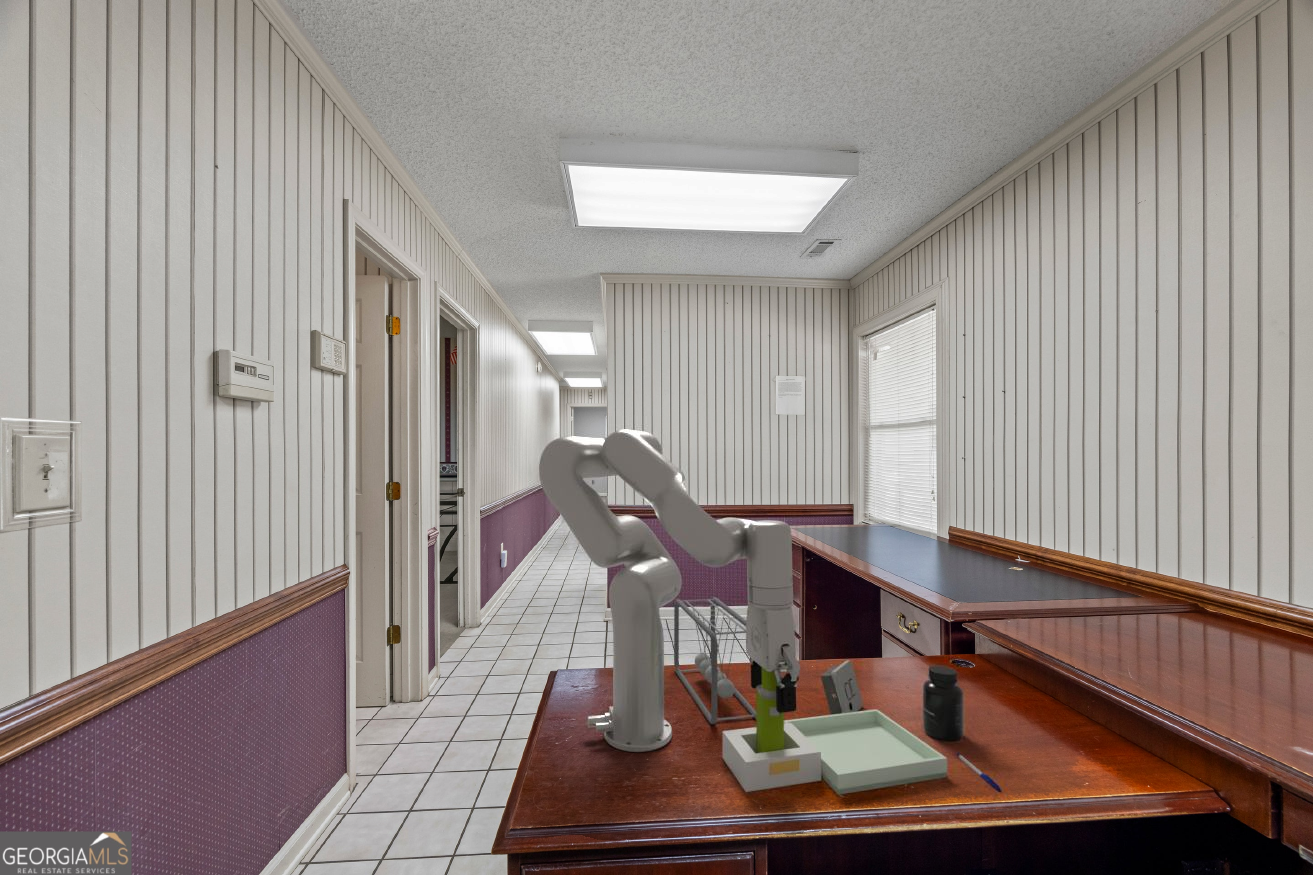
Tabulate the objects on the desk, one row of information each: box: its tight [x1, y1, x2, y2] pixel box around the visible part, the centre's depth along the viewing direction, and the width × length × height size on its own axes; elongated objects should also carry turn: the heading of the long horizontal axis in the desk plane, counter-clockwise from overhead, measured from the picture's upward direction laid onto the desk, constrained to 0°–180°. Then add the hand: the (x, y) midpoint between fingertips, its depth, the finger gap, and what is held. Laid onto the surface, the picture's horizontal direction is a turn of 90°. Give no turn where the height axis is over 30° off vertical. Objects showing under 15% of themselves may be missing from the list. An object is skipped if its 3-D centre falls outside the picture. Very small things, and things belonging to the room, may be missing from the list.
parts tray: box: [784, 709, 948, 796], centre depth 95 cm, size 20×18×3 cm
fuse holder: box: [722, 723, 822, 793], centre depth 91 cm, size 13×10×4 cm
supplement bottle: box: [922, 664, 965, 743], centre depth 103 cm, size 7×7×12 cm
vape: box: [755, 664, 785, 753], centre depth 91 cm, size 4×6×20 cm, turn 4°
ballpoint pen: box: [956, 753, 1002, 792], centre depth 90 cm, size 10×1×1 cm, turn 6°
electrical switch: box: [820, 659, 864, 715], centre depth 113 cm, size 9×5×9 cm, turn 141°
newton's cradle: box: [673, 596, 756, 725], centre depth 121 cm, size 30×10×18 cm, turn 13°
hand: (772, 698), depth 91 cm, fingers open, 9 cm apart
